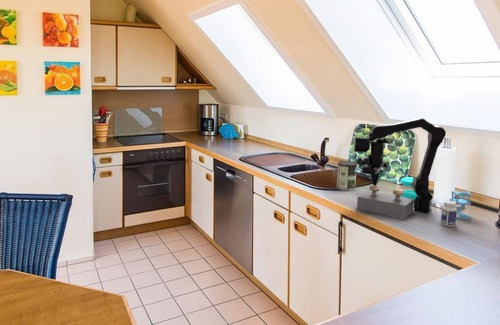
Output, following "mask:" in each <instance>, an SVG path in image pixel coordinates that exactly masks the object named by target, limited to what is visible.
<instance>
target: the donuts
mask: <svg viewBox="0 0 500 325" xmlns="http://www.w3.org/2000/svg"><path fill="white" fill-rule="evenodd" d="M413 177H414V176H413ZM413 177H411V176H406V177H403V178H401V179H400V183H401V184H402V186H405V187H407V188H412V185H411V183H412V182H413ZM402 190H403V195H400V197H405V198H410V199H414V200H415V199H416V197H417V195H416V193H415V192H414V191H413V189H405V190H404V189H402Z"/></svg>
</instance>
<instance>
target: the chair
mask: <svg viewBox="0 0 500 325" xmlns="http://www.w3.org/2000/svg"><path fill="white" fill-rule="evenodd" d="M471 196H472V194H471V192H470V191H468V190H465V191H457V190H453V191H451V198H449V201H454V202H456V206H457V205H460V206H459V208H458V209H457V215H460V216H456V220H472V216H470V215H468V214H466V213H463V212H461V211H462V209H463V208H464V207H465V206H466V205H467V206H471V205H472V202H470V198H471ZM455 197H456V198H455ZM460 197H462V198H460ZM465 197H467V199H465Z"/></svg>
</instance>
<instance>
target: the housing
mask: <svg viewBox="0 0 500 325" xmlns="http://www.w3.org/2000/svg"><path fill="white" fill-rule="evenodd" d="M395 196H396V195H394V194H392V195H391V194H387V193H380V192H376V197H373V196H372V191H371V190H369V191H368V190H367V191H365V192H363V193H362V194H360V195H358V196H357V199H356V200H357V201H356V204H357V205H356V209H357V210H360V211H364V212H365V211H366V212H369V213H370V212H371V213H375V214H381V215H385V216H389V215H390V216H389V217H395V218H398V219H406V218H407V217H409V216H410V215H411V214H412V213H413V212H414V199H410V198H405V197H400V201H395Z"/></svg>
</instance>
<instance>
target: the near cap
mask: <svg viewBox="0 0 500 325" xmlns="http://www.w3.org/2000/svg"><path fill="white" fill-rule="evenodd" d="M403 190H404V189H402V188H401V189H400V188H394V189H392V195H393V196H395V201H400V195H403Z"/></svg>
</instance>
